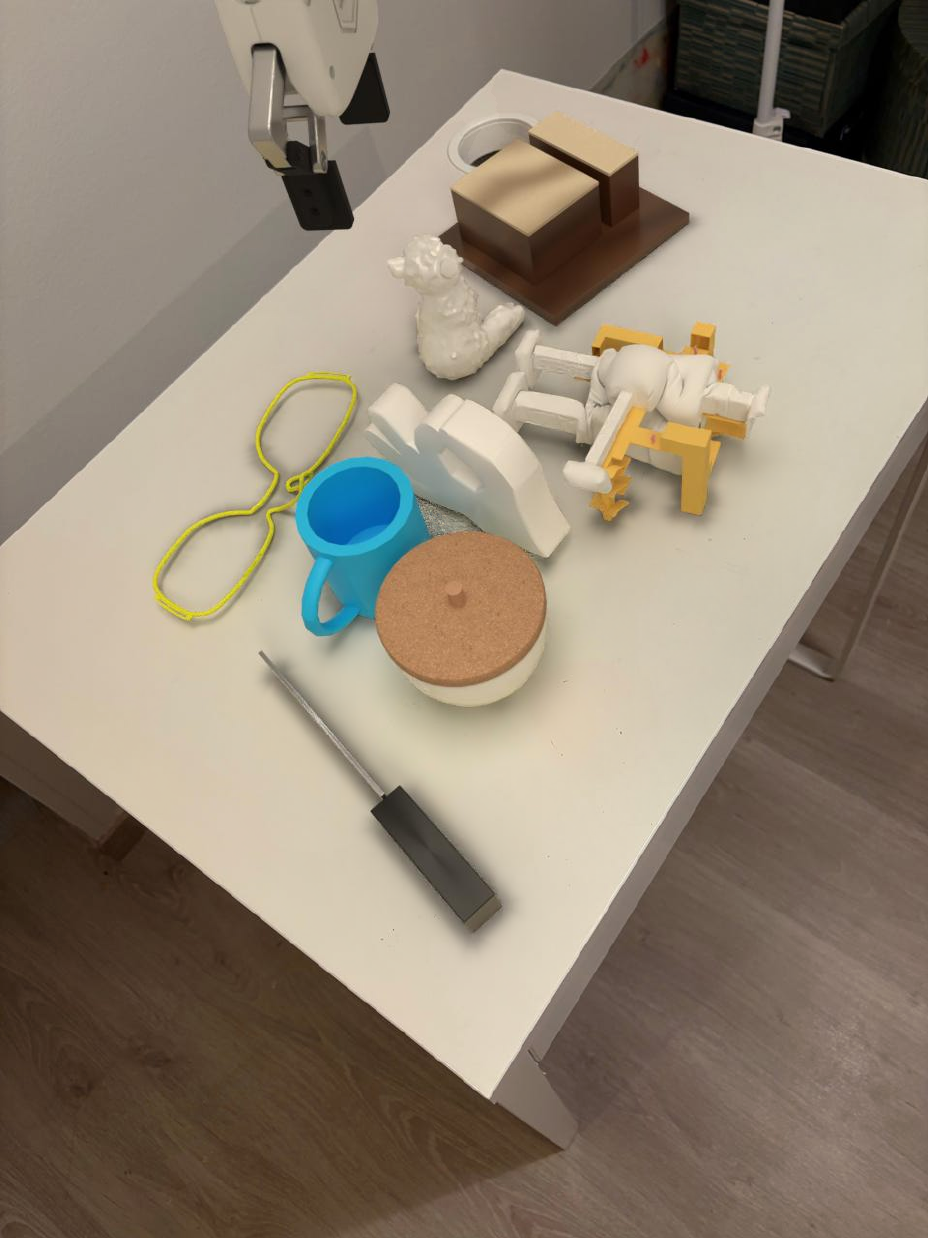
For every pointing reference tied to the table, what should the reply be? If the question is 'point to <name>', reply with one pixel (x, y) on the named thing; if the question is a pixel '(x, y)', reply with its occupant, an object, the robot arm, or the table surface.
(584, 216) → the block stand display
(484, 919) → the tall black pillar
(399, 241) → the table surface
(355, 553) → the mug
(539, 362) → the figure
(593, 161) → the wooden step piece
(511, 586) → the trinket box
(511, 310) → the white creature statuette
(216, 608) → the glasses
